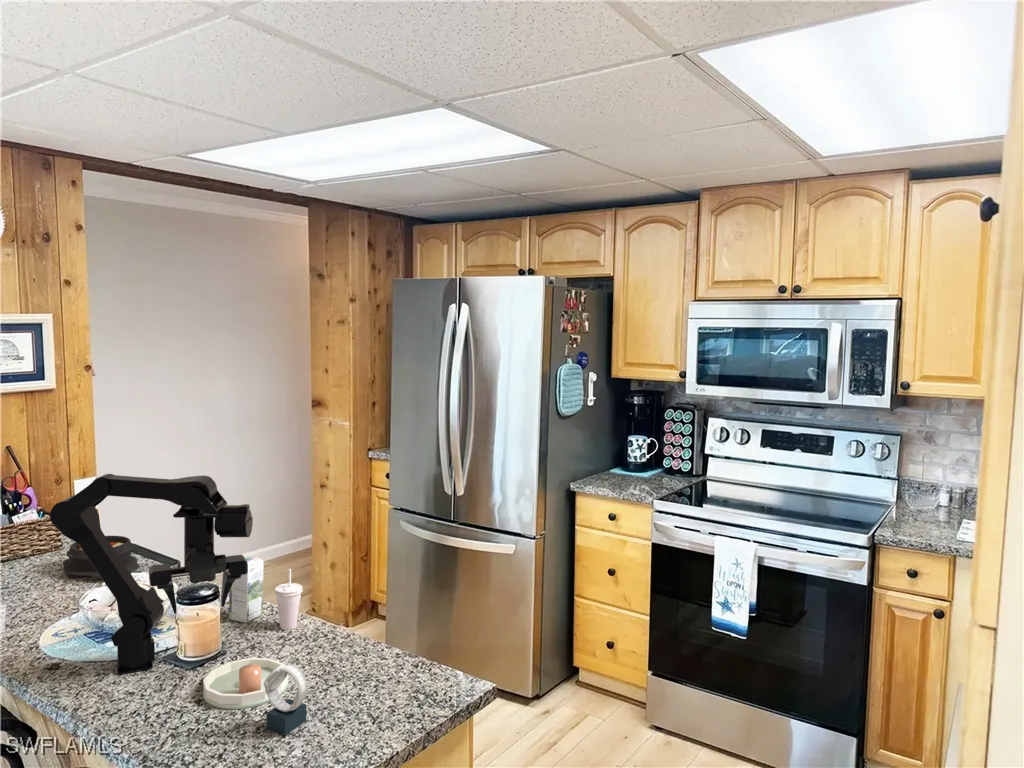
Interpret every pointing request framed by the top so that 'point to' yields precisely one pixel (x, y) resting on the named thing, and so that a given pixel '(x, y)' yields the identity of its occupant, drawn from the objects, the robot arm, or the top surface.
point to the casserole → (83, 566)
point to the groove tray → (225, 685)
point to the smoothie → (288, 603)
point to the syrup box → (247, 593)
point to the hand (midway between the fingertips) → (199, 609)
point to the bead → (249, 678)
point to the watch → (288, 711)
